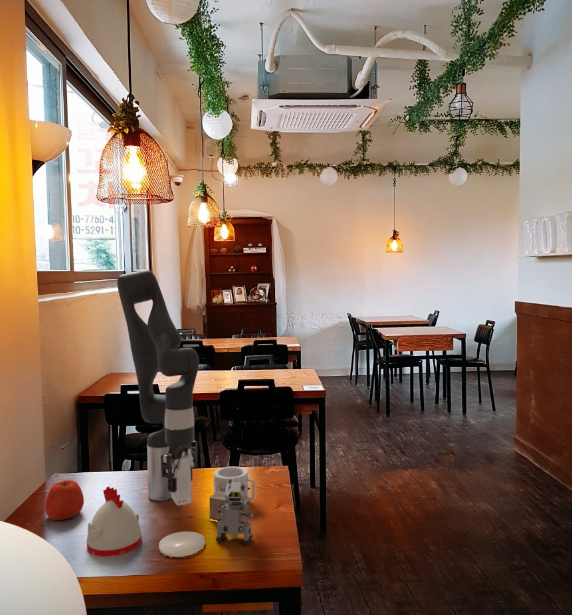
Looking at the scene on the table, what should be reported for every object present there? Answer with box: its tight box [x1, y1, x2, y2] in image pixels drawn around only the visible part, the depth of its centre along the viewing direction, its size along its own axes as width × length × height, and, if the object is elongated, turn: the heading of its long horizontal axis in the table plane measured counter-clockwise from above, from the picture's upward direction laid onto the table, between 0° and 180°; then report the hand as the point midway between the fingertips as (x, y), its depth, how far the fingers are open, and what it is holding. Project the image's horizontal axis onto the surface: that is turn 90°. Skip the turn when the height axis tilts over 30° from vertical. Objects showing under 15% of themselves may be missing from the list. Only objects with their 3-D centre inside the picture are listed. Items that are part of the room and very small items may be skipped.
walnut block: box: [209, 491, 228, 520], centre depth 156 cm, size 5×5×7 cm
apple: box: [44, 479, 85, 521], centre depth 158 cm, size 11×11×11 cm
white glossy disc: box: [158, 531, 206, 558], centre depth 140 cm, size 12×12×1 cm
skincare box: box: [171, 455, 193, 506], centre depth 139 cm, size 6×4×12 cm
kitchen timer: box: [86, 486, 142, 557], centre depth 142 cm, size 14×14×15 cm
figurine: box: [215, 478, 254, 546], centre depth 144 cm, size 9×12×15 cm
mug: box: [213, 466, 256, 505], centre depth 166 cm, size 14×11×10 cm
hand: (180, 486), depth 139 cm, fingers closed on skincare box, 7 cm apart
